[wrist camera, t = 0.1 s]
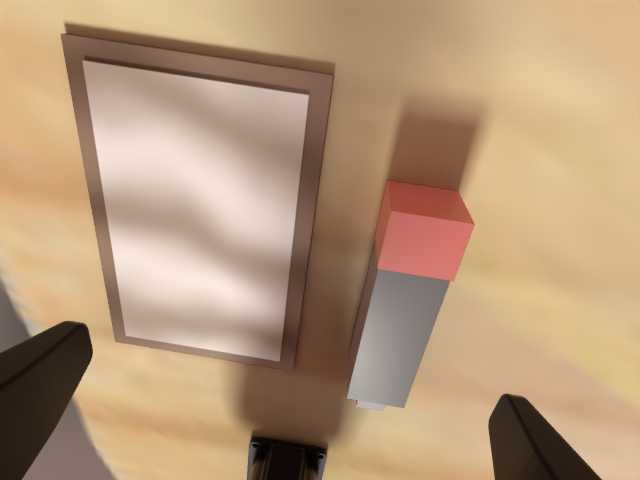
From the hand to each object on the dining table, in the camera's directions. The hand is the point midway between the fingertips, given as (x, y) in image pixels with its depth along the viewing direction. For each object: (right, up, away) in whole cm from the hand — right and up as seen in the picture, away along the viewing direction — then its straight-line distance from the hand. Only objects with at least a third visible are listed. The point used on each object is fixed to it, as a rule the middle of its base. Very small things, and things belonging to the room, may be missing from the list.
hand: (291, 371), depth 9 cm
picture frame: (-6, +3, +16) cm, 17 cm away
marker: (+5, 0, +16) cm, 17 cm away
